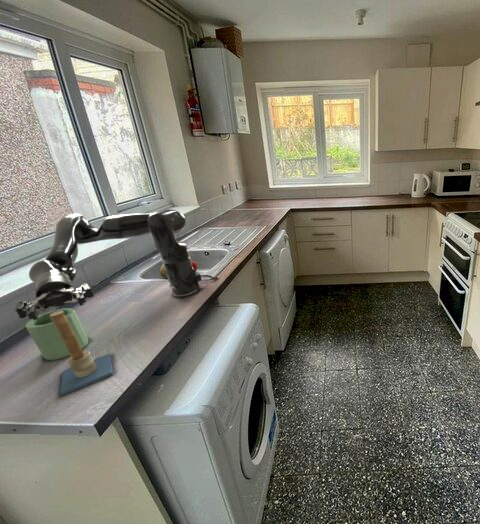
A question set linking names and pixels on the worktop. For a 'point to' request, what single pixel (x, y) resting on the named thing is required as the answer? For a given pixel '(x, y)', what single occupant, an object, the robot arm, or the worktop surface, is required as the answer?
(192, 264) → the strawberry
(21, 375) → the worktop surface
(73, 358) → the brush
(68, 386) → the mat
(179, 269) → the robot arm
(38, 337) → the green pot
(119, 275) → the worktop surface
